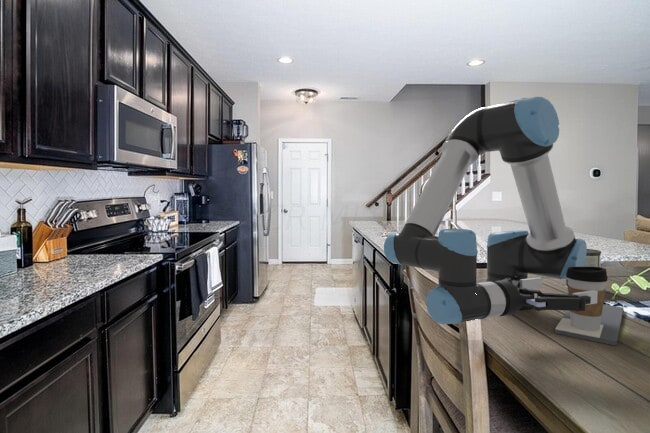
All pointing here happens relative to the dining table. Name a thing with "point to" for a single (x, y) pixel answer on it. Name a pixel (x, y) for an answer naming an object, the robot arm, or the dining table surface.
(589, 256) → the coffee can
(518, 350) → the dining table surface
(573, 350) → the dining table surface
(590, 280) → the coffee cup
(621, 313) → the mat
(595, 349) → the dining table surface
